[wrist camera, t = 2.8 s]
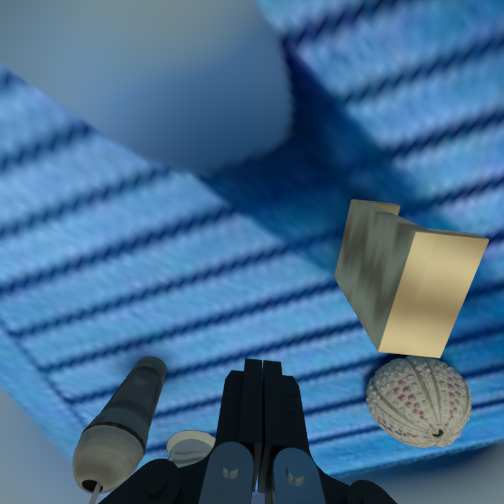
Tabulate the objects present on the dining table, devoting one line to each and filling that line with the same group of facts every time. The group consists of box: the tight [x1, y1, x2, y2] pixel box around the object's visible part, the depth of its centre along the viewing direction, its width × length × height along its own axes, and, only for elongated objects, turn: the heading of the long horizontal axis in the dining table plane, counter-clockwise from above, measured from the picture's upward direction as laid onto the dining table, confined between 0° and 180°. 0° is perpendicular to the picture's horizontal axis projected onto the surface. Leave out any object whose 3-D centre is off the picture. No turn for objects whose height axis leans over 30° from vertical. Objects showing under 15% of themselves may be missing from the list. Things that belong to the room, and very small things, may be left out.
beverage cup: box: [72, 357, 167, 504], centre depth 32 cm, size 7×7×20 cm
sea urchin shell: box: [366, 356, 472, 449], centre depth 37 cm, size 13×14×8 cm
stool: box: [334, 199, 489, 358], centre depth 27 cm, size 10×5×14 cm, turn 174°
